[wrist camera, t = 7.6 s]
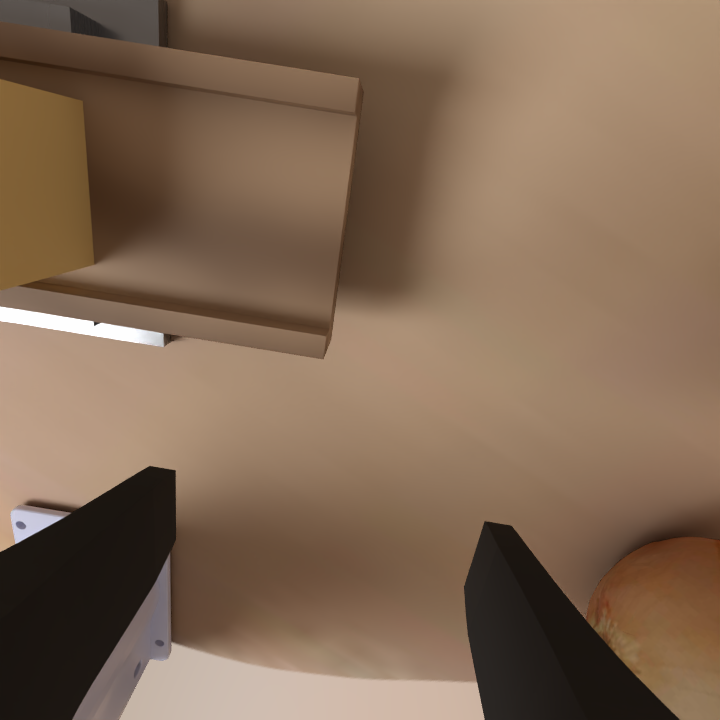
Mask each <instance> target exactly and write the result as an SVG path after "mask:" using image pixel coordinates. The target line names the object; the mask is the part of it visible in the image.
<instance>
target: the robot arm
mask: <svg viewBox="0 0 720 720" xmlns="http://www.w3.org/2000/svg"><path fill="white" fill-rule="evenodd" d="M11 521H12V526H13V532H14V538H15V543H16V544H15V545H13V546H11V547H9V548H7V549H6V550H4V551H2V552H0V720H119V719H120V717H121V715H122V713H123V711H124V709H125V707H126V705H127V703H128V701H129V699H130V697H131V695H132V693H133V691H134V689H135V687H136V685H137V683H138V681H139V679H140V677H141V675H142V673H143V671H144V670H145V667H146V666H147V664H148V662H149V660H150V659H154V660H160V661H163V660H166V659H168V657H169V655H170V653H171V586H170V551H171V549H172V547H173V544H174V542H175V540H176V471H175V470H170V469H164V468H158V467H152V466H149V467H147V468H145V469H144V470H142V471H140V472H138V473H137V474H135V475H133V476H132V477H130V478H128V479H127V480H125V481H124V482H122V483H120V484H119V485H117V486H115V487H114V488H112V489H111V490H109V491H107V492H106V493H104V494H102V495H101V496H99V497H97V498H96V499H94V500H92V501H91V502H89V503H87V504H86V505H84V506H82V507H81V508H79V509H77V510H76V511H74V512H72V513H69V512H63V511H57V510H51V509H45V508H39V507H33V506H27V505H19V506H17V507H15V508H14V509H13V510H12V511H11ZM464 593H465V607H466V619H467V629H468V637H469V642H470V648H471V653H472V658H473V663H474V668H475V673H476V678H477V683H478V688H479V693H480V698H481V703H482V708H483V713H484V718H485V720H680V719H679V718H678V717H677V716H676V715H675V714H674V713H673V712H672V711H671V710H670V709H669V708H668V707H667V706H666V705H665V704H664V703H663V702H662V701H661V700H660V699H659V698H658V697H657V696H656V695H655V694H654V693H653V692H652V691H651V690H650V689H649V688H648V687H647V686H646V685H645V684H644V683H643V682H642V681H641V680H640V679H639V678H638V677H637V676H636V675H635V674H634V673H633V672H632V671H631V670H630V669H629V668H628V667H627V666H626V665H625V663H624V662H623V661H622V660H621V659H620V658H619V657H618V656H617V655H616V654H615V653H614V651H613V650H612V649H611V648H610V647H609V646H608V645H607V644H606V642H605V641H604V640H603V639H602V638H601V637H600V636H599V635H598V633H597V632H596V631H595V630H594V629H593V628H592V627H591V625H590V624H589V623H588V622H587V621H586V619H585V618H584V617H583V616H582V615H581V614H580V612H579V611H578V610H577V609H576V608H575V606H574V605H573V604H572V603H571V602H570V600H569V599H568V598H567V597H566V595H565V594H564V593H563V592H562V590H561V589H560V588H559V587H558V585H557V584H556V583H555V582H554V580H553V579H552V578H551V576H550V575H549V574H548V573H547V571H546V570H545V569H544V567H543V566H542V565H541V563H540V562H539V561H538V560H537V558H536V557H535V556H534V554H533V553H532V552H531V550H530V549H529V548H528V547H527V545H526V544H525V543H524V541H523V540H522V539H521V537H520V536H519V535H518V533H517V532H516V531H515V530H514V528H513V527H512V526H510V525H504V524H498V523H492V522H486V521H485V522H484V525H483V529H482V532H481V535H480V538H479V541H478V544H477V548H476V551H475V554H474V557H473V560H472V563H471V567H470V570H469V573H468V576H467V579H466V582H465V586H464Z"/></svg>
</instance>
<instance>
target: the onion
mask: <svg viewBox="0 0 720 720" xmlns="http://www.w3.org/2000/svg"><path fill="white" fill-rule="evenodd" d="M586 621H587V622H588V623H589V624H590V625H591V627H592V628H593V629H594V630H595V631H596V632H597V633H598V635H599V636H600V637H601V638H602V639H603V640H604V641H605V642H606V644H607V645H608V646H609V647H610V648H611V649H612V650H613V651H614V653H615V654H616V655H617V656H618V657H619V658H620V659H621V660H622V661H623V662H624V663H625V665H626V666H627V667H628V668H629V669H630V670H631V671H632V672H633V673H634V674H635V675H636V676H637V677H638V678H639V679H640V680H641V681H642V682H643V683H644V684H645V685H646V686H647V687H648V688H649V689H650V690H651V691H652V692H653V693H654V694H655V695H656V696H657V697H658V698H659V699H660V700H661V701H662V702H663V703H664V704H665V705H666V706H667V707H668V708H669V709H670V710H671V711H672V712H673V713H674V714H675V715H676V716H677V717H678V718H679V719H680V720H720V540H716V539H708V538H702V537H679V538H672V539H668V540H664V541H658V542H652V543H649V544H647V545H645V546H643V547H641V548H639V549H637V550H635V551H633V552H632V553H630V554H628V555H627V556H626V557H624V558H623V559H622V560H620V561H619V562H618V563H617V564H616V565H615V566H614V567H613V568H612V569H611V570H610V571H609V572H608V573H607V574H606V575H605V576H604V577H603V578H602V579H601V581H600V582H599V584H598V586H597V588H596V589H595V591H594V593H593V595H592V597H591V599H590V602H589V606H588V611H587V618H586Z"/></svg>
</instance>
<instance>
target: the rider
mask: <svg viewBox="0 0 720 720" xmlns="http://www.w3.org/2000/svg"><path fill="white" fill-rule="evenodd" d="M92 265H94V252H93V238H92V224H91V209H90V195H89V181H88V167H87V153H86V139H85V125H84V111H83V101H81V100H77V99H74V98H70V97H66V96H62V95H59V94H55V93H51V92H47V91H43V90H40V89H36V88H32V87H28V86H25V85H21V84H17V83H13V82H10V81H6V80H2V79H0V291H1V290H5V289H8V288H12V287H16V286H19V285H23V284H27V283H30V282H34V281H38V280H41V279H45V278H48V277H52V276H56V275H59V274H63V273H67V272H70V271H74V270H78V269H81V268H85V267H89V266H92Z"/></svg>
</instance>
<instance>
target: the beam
mask: <svg viewBox="0 0 720 720" xmlns="http://www.w3.org/2000/svg"><path fill="white" fill-rule="evenodd" d="M0 79H2V80H6V81H10V82H13V83H17V84H21V85H25V86H28V87H32V88H36V89H40V90H43V91H47V92H51V93H55V94H59V95H62V96H66V97H70V98H74V99H77V100H81V101H83V111H84V125H85V139H86V153H87V167H88V181H89V195H90V209H91V224H92V238H93V252H94V265H92V266H89V267H85V268H81V269H78V270H74V271H70V272H67V273H63V274H59V275H56V276H52V277H48V278H45V279H41V280H38V281H34V282H30V283H27V284H23V285H19V286H16V287H12V288H8V289H5V290H1V291H0V307H6V308H12V309H18V310H24V311H30V312H37V313H43V314H49V315H55V316H61V317H67V318H73V319H80V320H86V321H92V322H98V323H104V324H110V325H116V326H122V327H129V328H135V329H141V330H147V331H153V332H159V333H165V334H172V335H178V336H184V337H190V338H196V339H202V340H208V341H214V342H221V343H227V344H233V345H239V346H245V347H251V348H257V349H263V350H270V351H276V352H282V353H288V354H294V355H300V356H306V357H313V358H319V359H324V356H325V354H326V351H327V349H328V346H329V344H330V341H331V336H332V329H333V321H334V313H335V306H336V298H337V291H338V283H339V275H340V268H341V260H342V253H343V245H344V237H345V230H346V222H347V215H348V207H349V199H350V192H351V184H352V177H353V169H354V161H355V154H356V146H357V139H358V131H359V124H360V116H361V108H362V101H363V93H364V92H363V89H362V86H361V83H360V79H359V78H355V77H349V76H342V75H336V74H330V73H324V72H317V71H311V70H305V69H298V68H292V67H286V66H279V65H273V64H267V63H260V62H254V61H248V60H241V59H235V58H229V57H222V56H216V55H210V54H203V53H197V52H191V51H184V50H178V49H172V48H166V47H159V46H153V45H147V44H140V43H134V42H128V41H121V40H115V39H109V38H102V37H96V36H90V35H83V34H77V33H71V32H64V31H58V30H52V29H45V28H39V27H33V26H27V25H20V24H14V23H8V22H1V21H0Z"/></svg>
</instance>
